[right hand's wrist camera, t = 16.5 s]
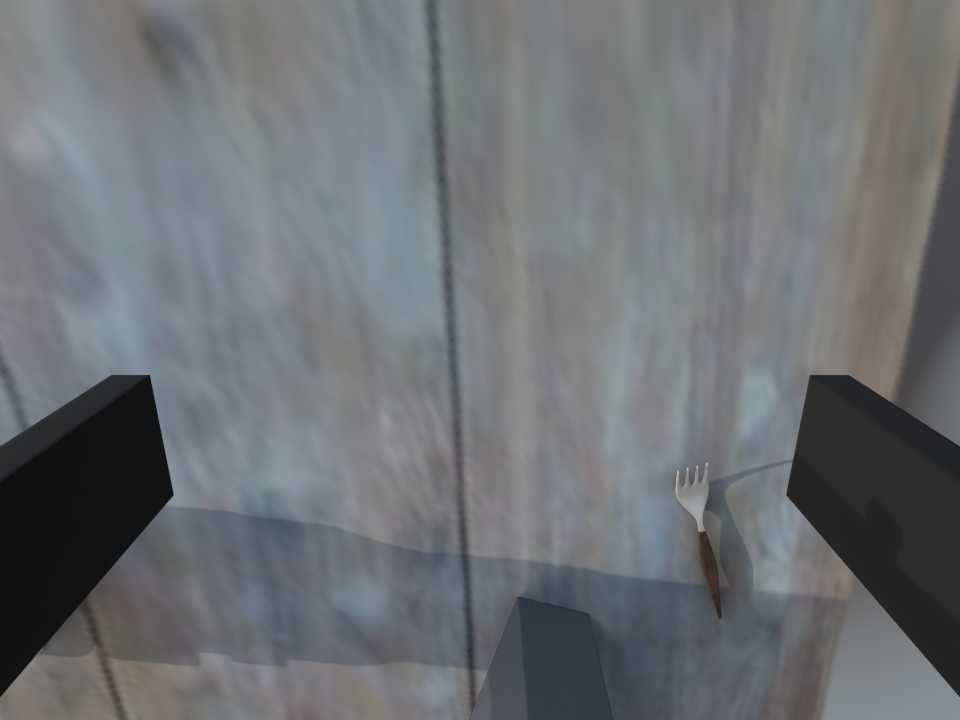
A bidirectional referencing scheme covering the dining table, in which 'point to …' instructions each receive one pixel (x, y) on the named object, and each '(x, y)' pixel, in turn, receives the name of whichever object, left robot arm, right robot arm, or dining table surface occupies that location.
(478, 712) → the box
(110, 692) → the dining table surface
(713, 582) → the fork
